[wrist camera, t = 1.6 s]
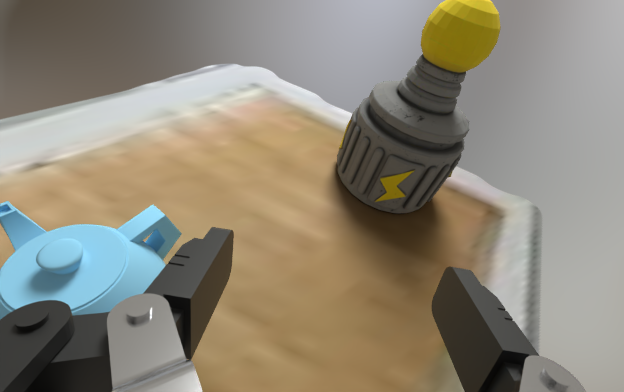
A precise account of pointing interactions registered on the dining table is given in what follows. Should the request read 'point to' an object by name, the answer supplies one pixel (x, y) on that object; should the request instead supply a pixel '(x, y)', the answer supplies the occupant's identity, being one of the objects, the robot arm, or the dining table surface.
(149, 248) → the teapot
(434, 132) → the toy tesla coil
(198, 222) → the dining table surface
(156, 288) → the robot arm
